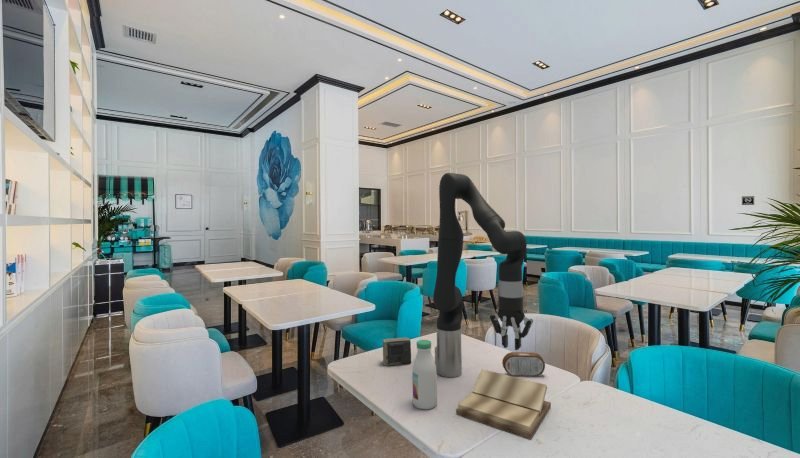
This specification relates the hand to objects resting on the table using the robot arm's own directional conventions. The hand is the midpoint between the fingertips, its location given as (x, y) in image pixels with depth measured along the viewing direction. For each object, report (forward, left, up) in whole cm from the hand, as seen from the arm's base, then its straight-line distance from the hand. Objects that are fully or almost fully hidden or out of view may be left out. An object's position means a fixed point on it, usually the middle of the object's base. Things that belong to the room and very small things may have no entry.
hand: (511, 347), depth 116 cm
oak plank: (0, -2, -13) cm, 13 cm away
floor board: (0, -7, -17) cm, 19 cm away
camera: (-49, +4, -17) cm, 52 cm away
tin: (-3, +21, -17) cm, 27 cm away
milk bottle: (-22, -17, -17) cm, 33 cm away
